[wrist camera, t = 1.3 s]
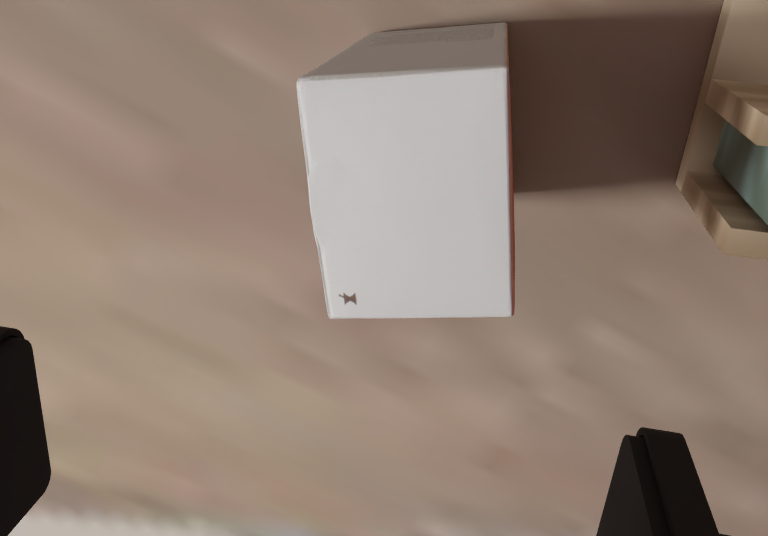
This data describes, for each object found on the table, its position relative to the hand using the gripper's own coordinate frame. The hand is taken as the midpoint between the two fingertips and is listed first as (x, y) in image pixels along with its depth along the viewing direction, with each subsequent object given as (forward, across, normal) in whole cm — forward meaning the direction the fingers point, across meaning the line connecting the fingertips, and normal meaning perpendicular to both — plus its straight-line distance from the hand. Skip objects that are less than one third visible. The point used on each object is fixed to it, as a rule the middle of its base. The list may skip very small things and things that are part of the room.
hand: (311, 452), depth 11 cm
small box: (+25, 0, 0) cm, 25 cm away
